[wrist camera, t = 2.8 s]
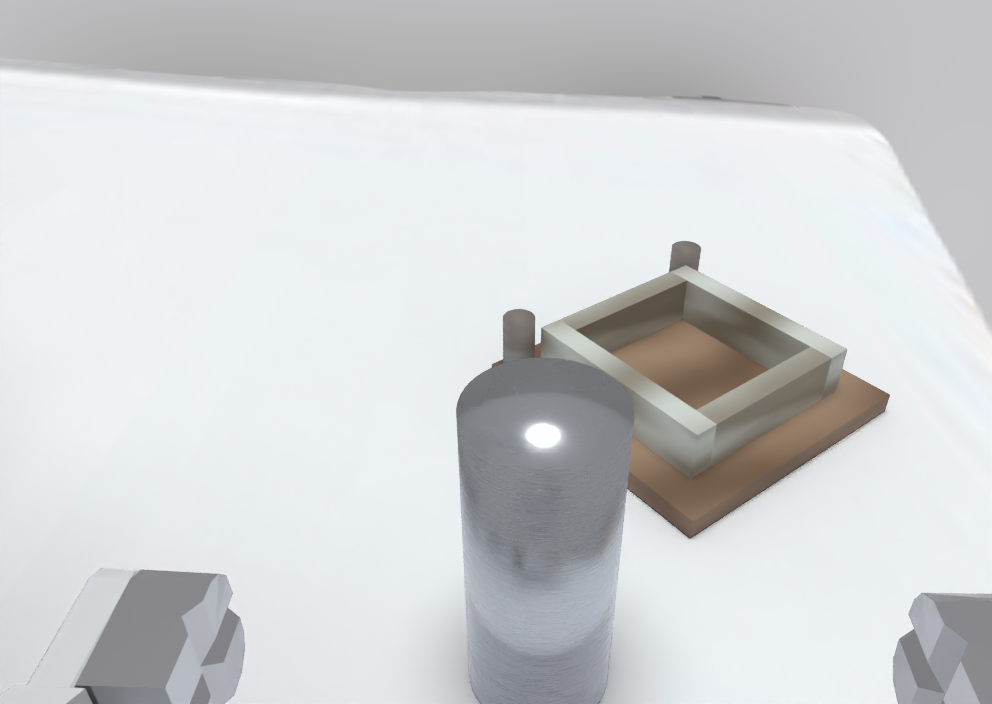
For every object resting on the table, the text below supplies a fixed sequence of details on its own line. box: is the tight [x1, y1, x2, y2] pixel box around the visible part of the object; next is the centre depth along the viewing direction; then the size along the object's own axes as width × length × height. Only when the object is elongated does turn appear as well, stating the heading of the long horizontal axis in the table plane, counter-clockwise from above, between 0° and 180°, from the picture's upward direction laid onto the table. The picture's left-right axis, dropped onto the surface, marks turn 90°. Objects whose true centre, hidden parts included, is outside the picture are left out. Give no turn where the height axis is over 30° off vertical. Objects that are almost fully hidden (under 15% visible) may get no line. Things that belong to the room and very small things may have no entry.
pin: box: [456, 358, 634, 704], centre depth 28 cm, size 5×5×12 cm
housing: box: [492, 241, 890, 538], centre depth 43 cm, size 14×14×4 cm
